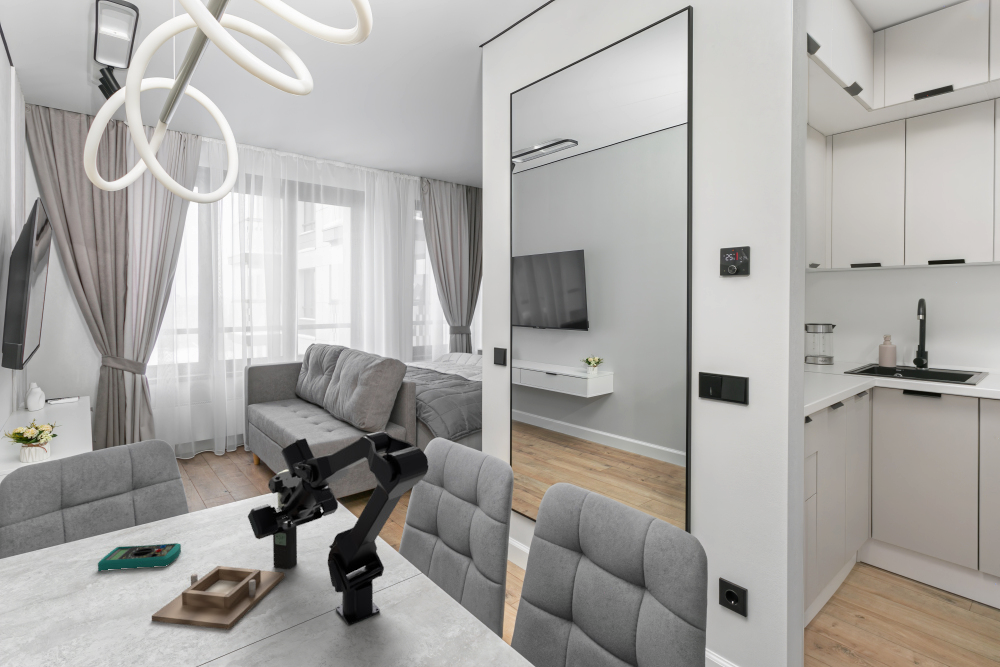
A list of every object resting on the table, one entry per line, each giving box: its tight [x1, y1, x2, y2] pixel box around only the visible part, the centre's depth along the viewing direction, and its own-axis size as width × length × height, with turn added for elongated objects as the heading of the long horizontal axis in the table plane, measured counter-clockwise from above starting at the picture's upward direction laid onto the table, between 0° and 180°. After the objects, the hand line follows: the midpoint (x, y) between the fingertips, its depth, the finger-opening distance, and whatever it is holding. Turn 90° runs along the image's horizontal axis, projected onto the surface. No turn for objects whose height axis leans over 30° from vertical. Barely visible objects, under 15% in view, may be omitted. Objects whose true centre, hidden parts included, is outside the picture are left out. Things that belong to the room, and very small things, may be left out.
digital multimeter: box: [97, 542, 182, 572], centre depth 115 cm, size 7×15×3 cm, turn 100°
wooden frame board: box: [151, 565, 286, 631], centre depth 101 cm, size 16×18×4 cm
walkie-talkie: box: [272, 520, 298, 570], centre depth 114 cm, size 5×3×15 cm
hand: (282, 528), depth 115 cm, fingers open, 5 cm apart
